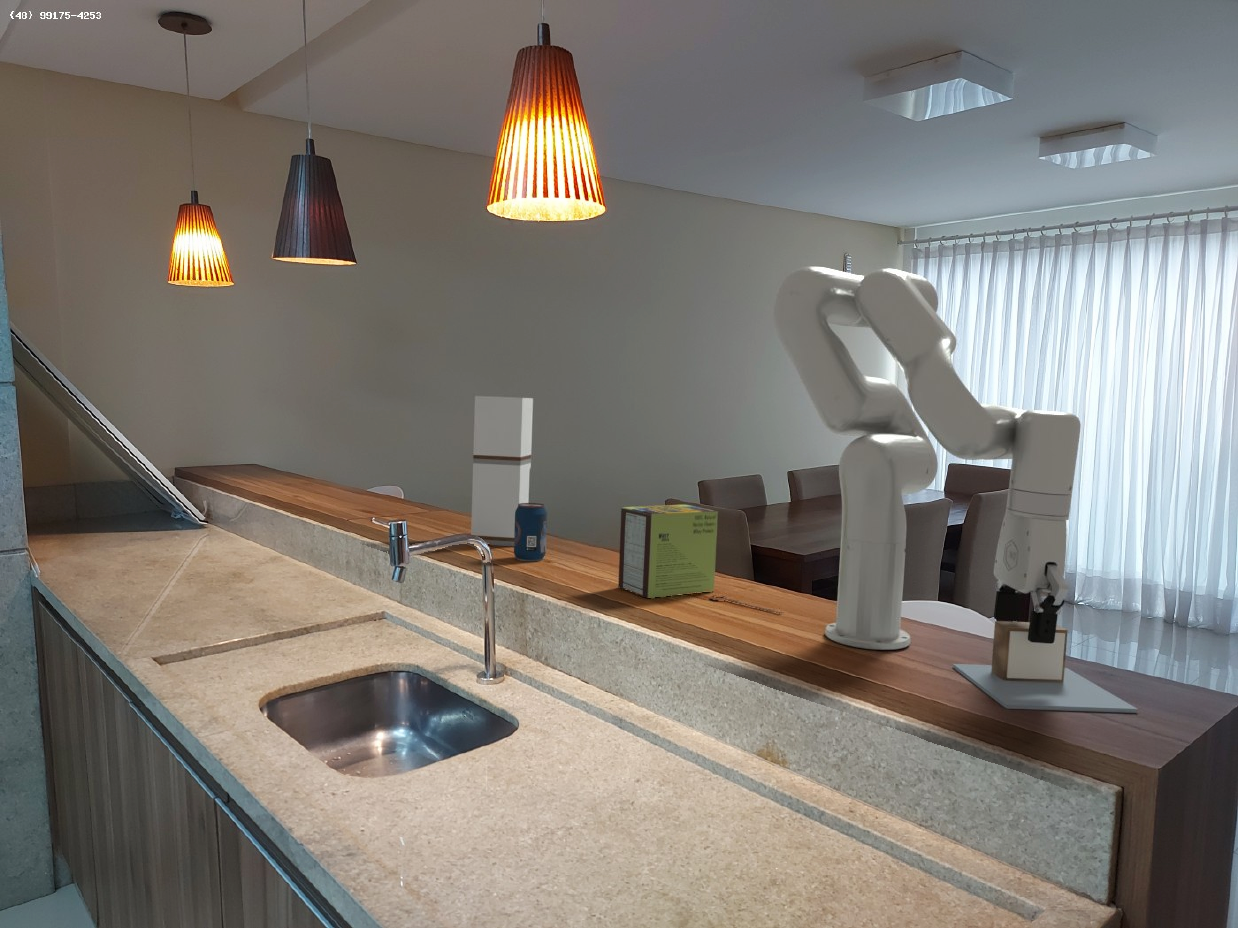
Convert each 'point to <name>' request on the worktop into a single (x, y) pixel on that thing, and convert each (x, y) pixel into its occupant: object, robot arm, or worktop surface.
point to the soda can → (530, 532)
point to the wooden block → (1027, 654)
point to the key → (745, 604)
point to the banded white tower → (500, 465)
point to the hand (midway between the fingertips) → (1022, 630)
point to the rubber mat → (1045, 692)
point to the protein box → (667, 550)
